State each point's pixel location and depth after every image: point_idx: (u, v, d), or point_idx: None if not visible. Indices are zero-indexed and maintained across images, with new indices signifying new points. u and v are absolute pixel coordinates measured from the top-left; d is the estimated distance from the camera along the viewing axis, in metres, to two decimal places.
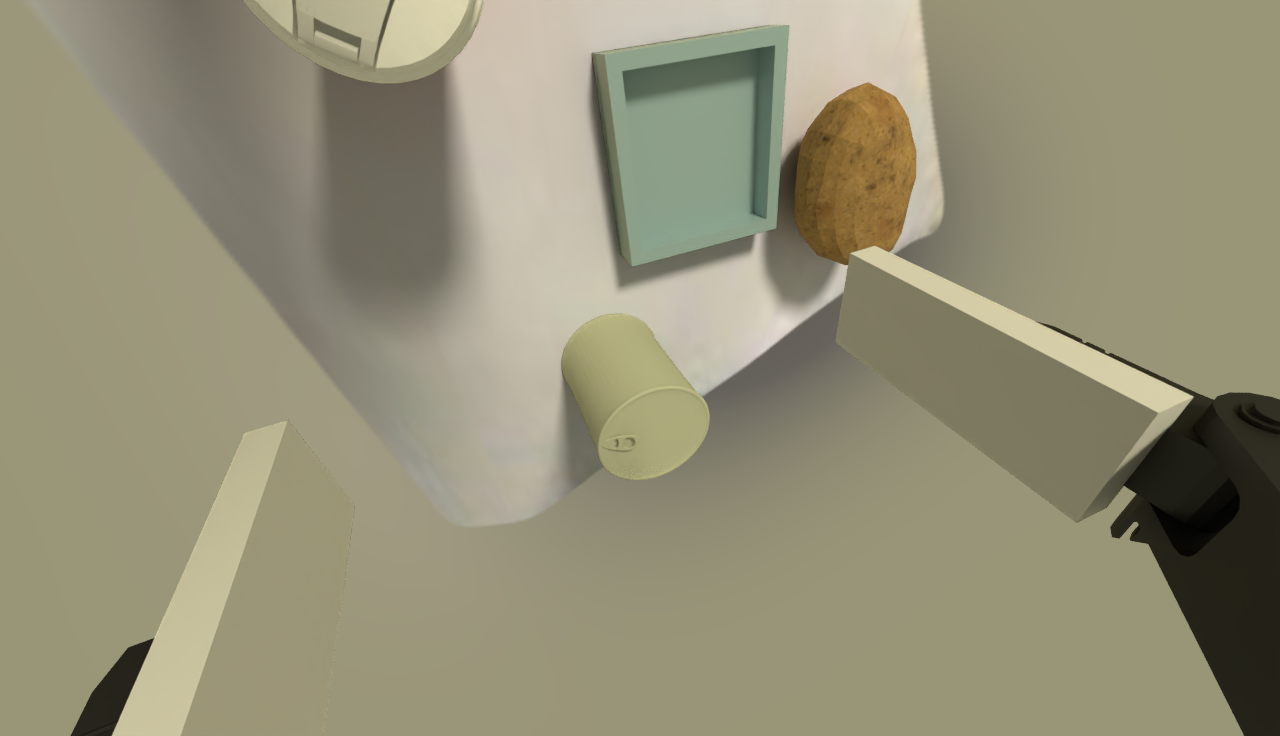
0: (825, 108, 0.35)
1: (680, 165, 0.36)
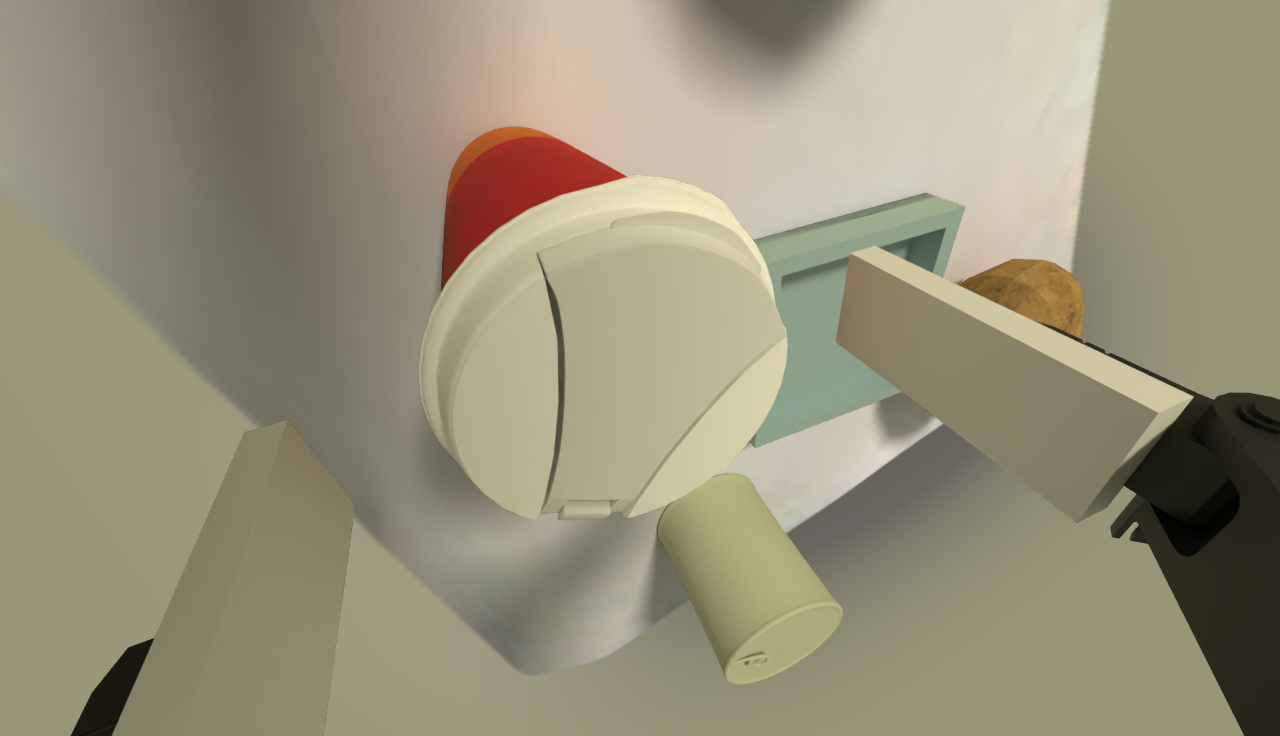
0: (985, 280, 0.31)
1: (814, 339, 0.32)
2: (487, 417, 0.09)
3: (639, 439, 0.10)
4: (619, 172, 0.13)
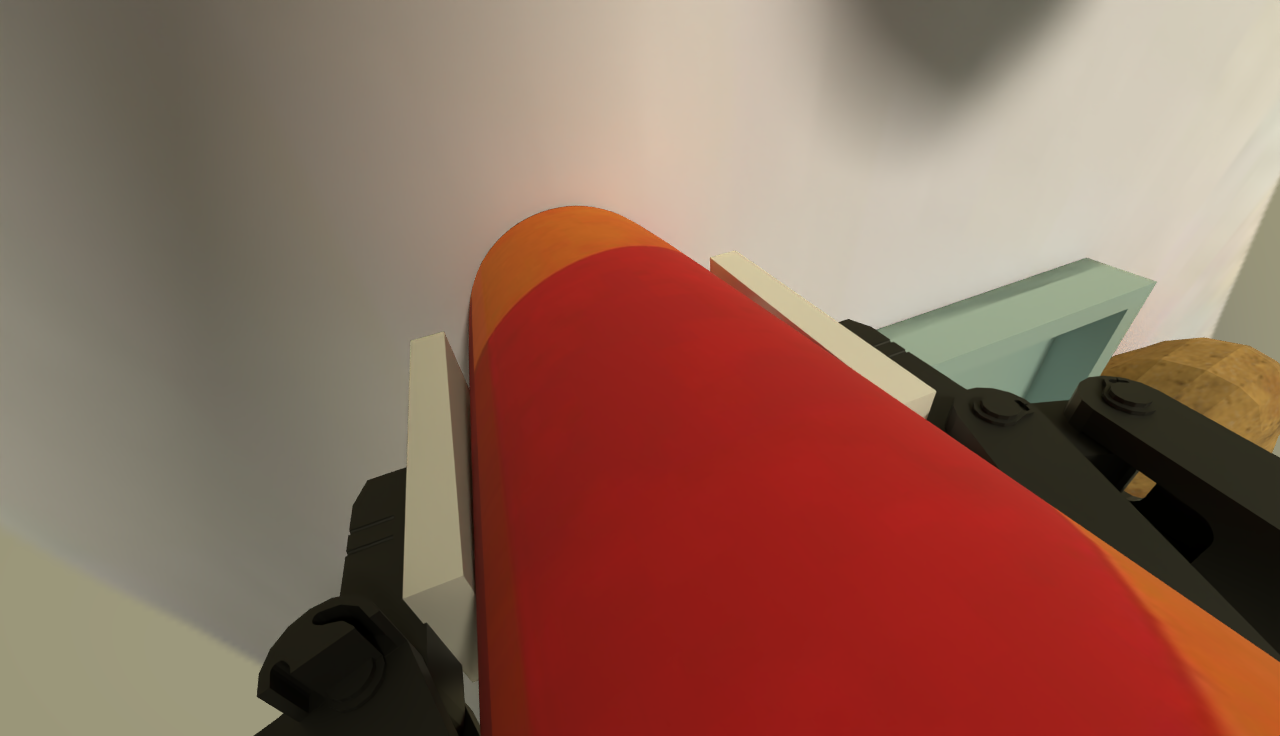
0: (1156, 367, 0.24)
1: None
2: None
3: None
4: (860, 379, 0.06)
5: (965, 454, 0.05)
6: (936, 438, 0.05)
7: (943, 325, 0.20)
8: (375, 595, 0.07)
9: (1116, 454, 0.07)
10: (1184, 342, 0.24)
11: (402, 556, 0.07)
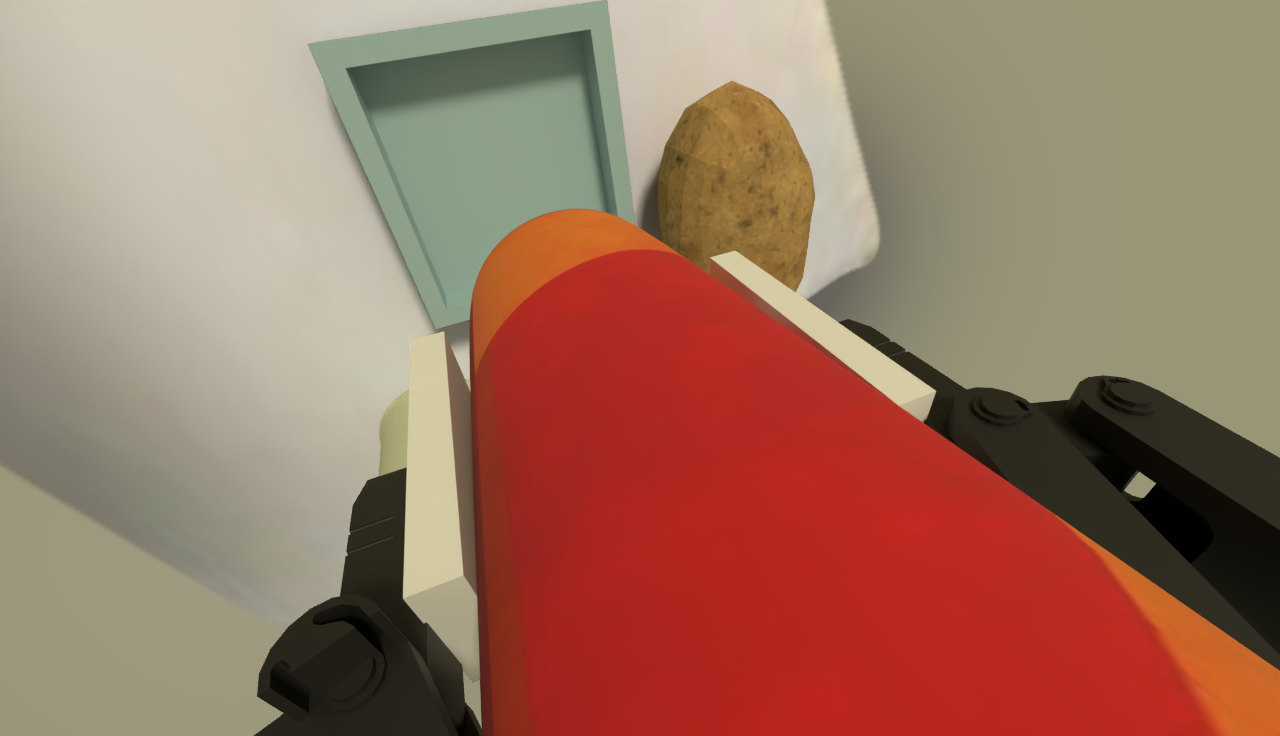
0: (681, 116, 0.26)
1: (492, 194, 0.27)
2: None
3: None
4: (861, 384, 0.06)
5: (966, 461, 0.05)
6: (937, 444, 0.05)
7: None
8: (375, 595, 0.07)
9: (1115, 455, 0.07)
10: (708, 94, 0.26)
11: (402, 556, 0.07)
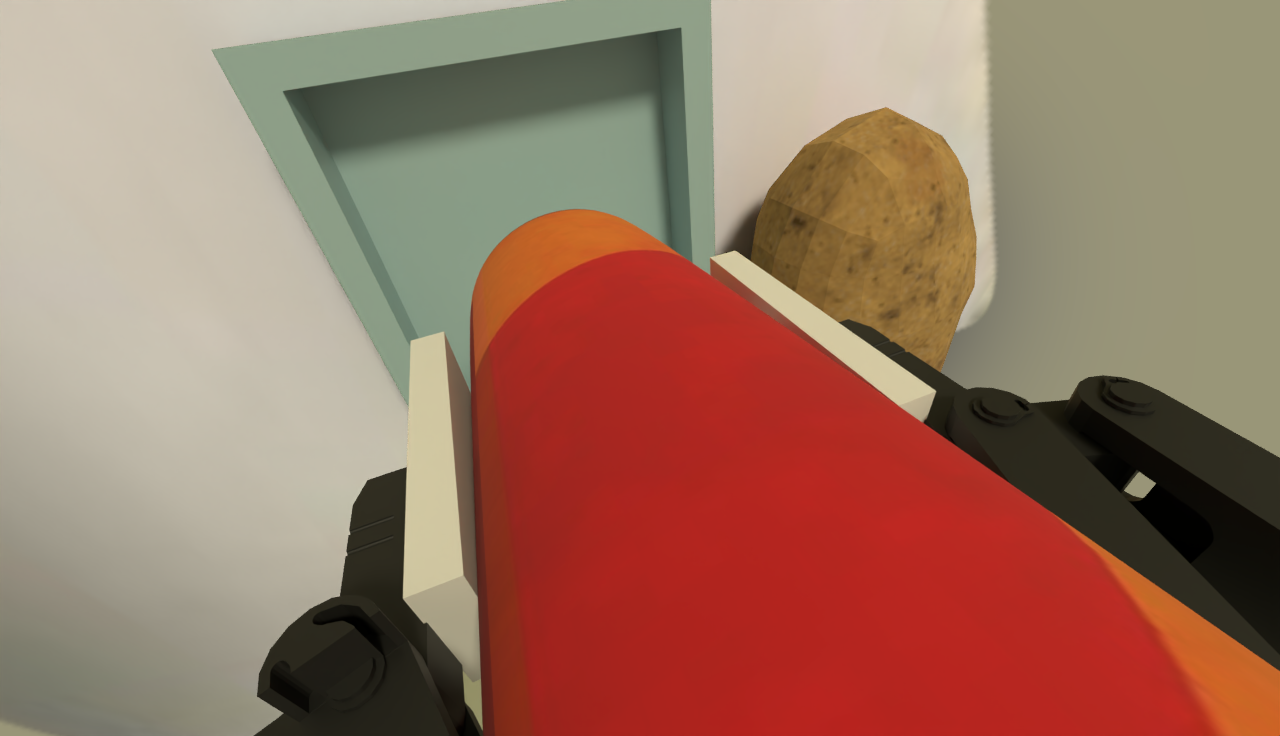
0: (798, 157, 0.18)
1: None
2: None
3: None
4: (862, 385, 0.06)
5: (966, 462, 0.05)
6: (937, 445, 0.05)
7: None
8: (375, 595, 0.07)
9: (1116, 454, 0.07)
10: (838, 124, 0.18)
11: (402, 556, 0.07)
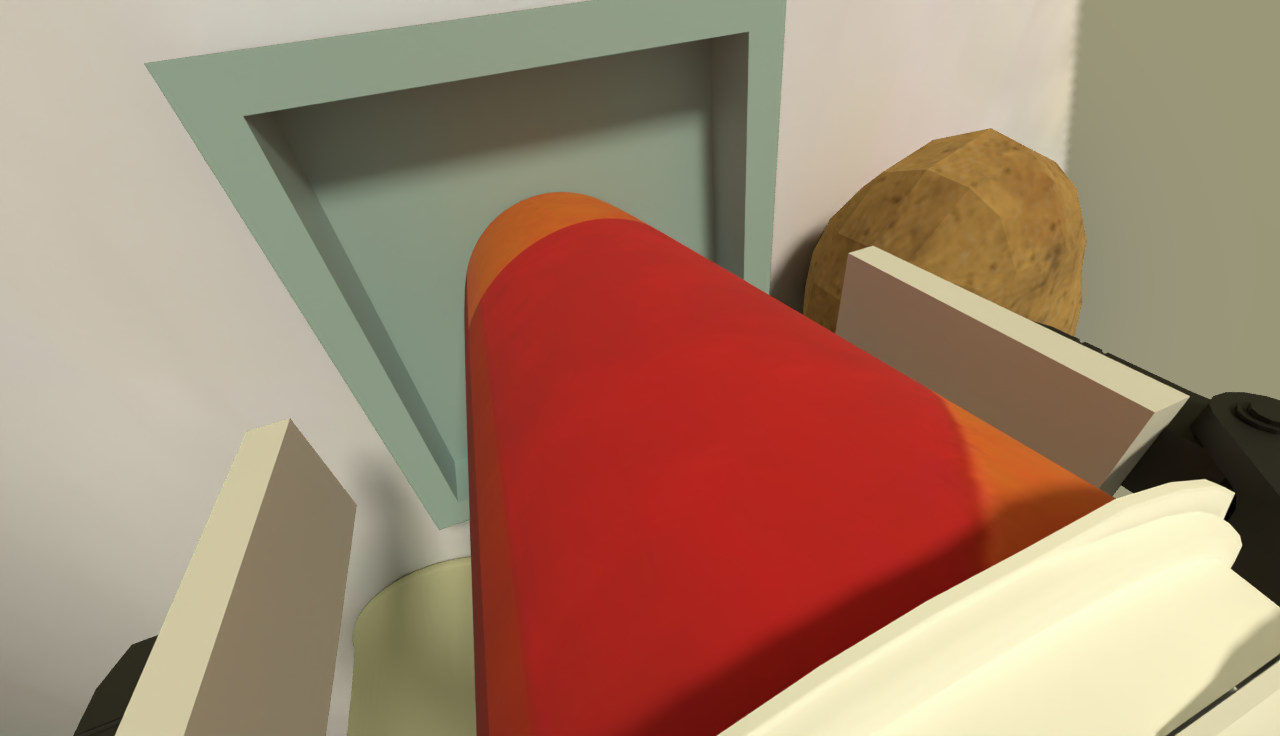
0: (875, 186, 0.15)
1: None
2: None
3: None
4: (788, 307, 0.07)
5: (859, 350, 0.06)
6: (837, 339, 0.06)
7: None
8: None
9: None
10: None
11: None
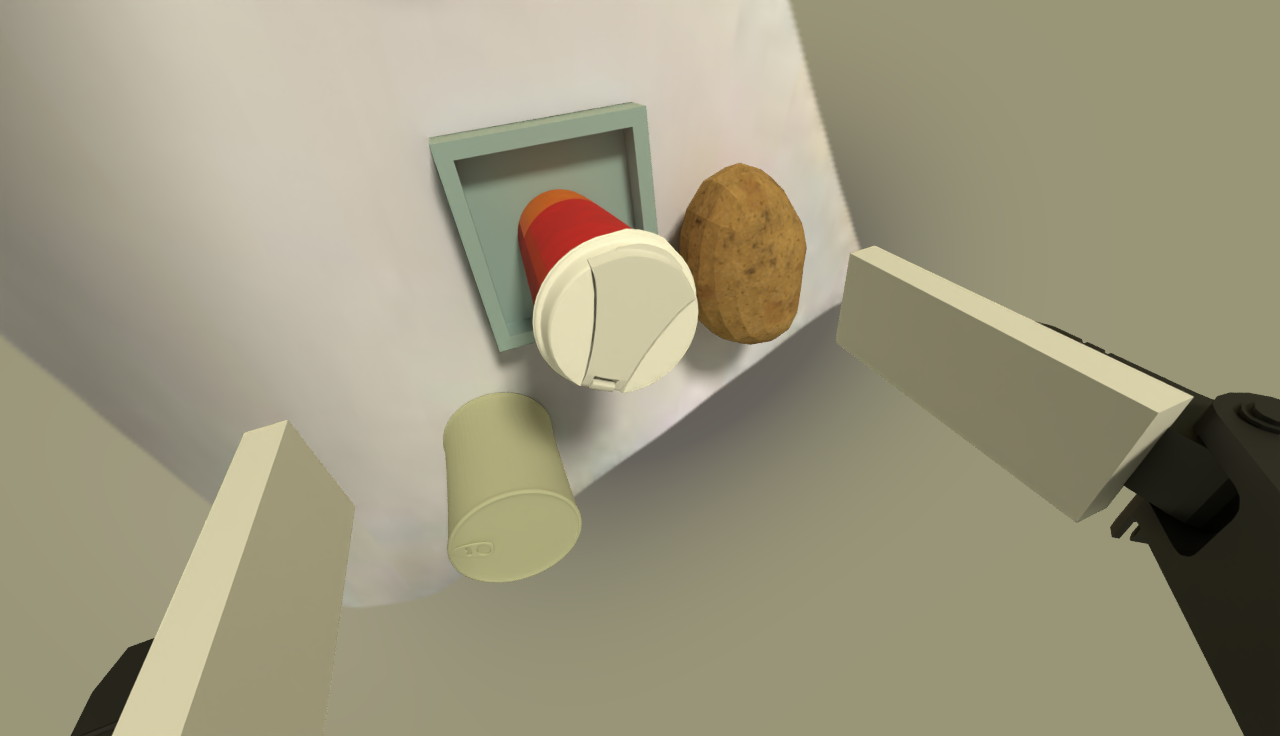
0: (700, 187, 0.33)
1: None
2: (564, 327, 0.21)
3: (628, 346, 0.23)
4: (621, 222, 0.25)
5: (629, 228, 0.24)
6: (625, 226, 0.24)
7: (487, 129, 0.29)
8: None
9: None
10: (721, 170, 0.33)
11: None
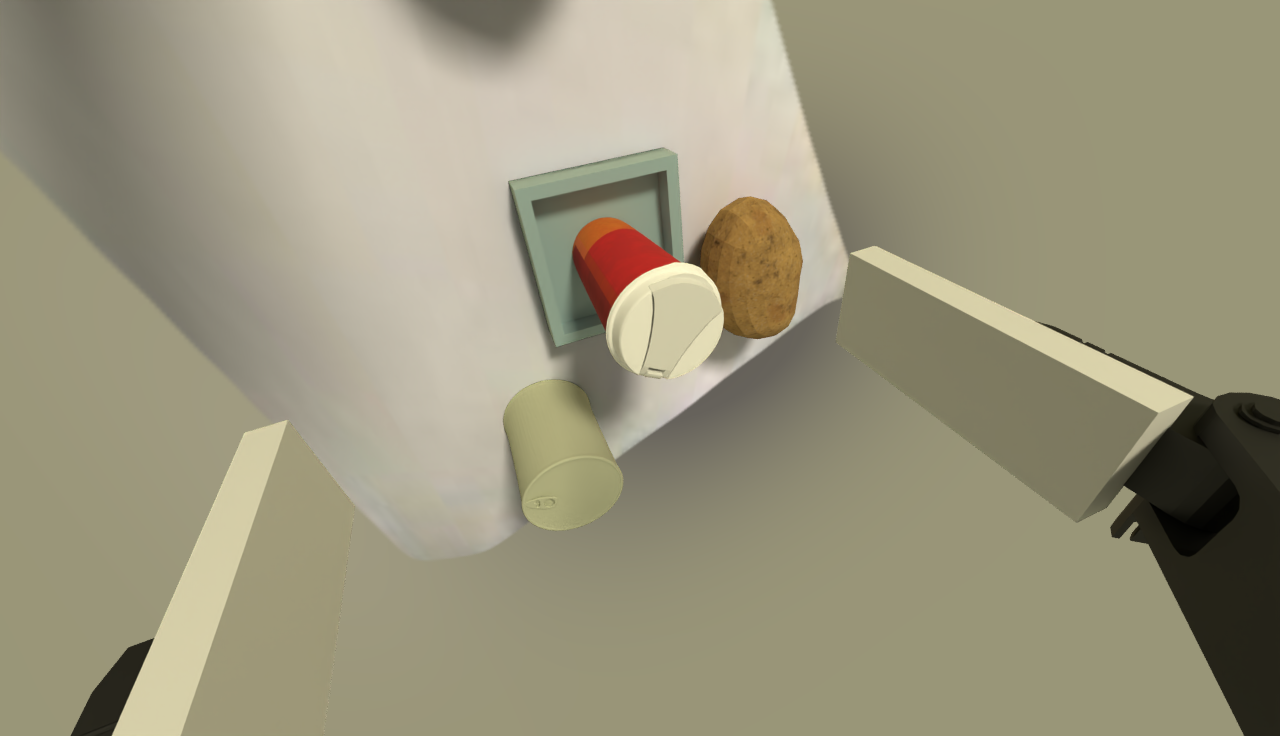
0: (718, 214, 0.41)
1: None
2: (631, 333, 0.29)
3: (674, 346, 0.31)
4: (663, 250, 0.34)
5: (671, 257, 0.33)
6: (668, 255, 0.33)
7: (554, 174, 0.37)
8: None
9: None
10: (735, 200, 0.41)
11: None
